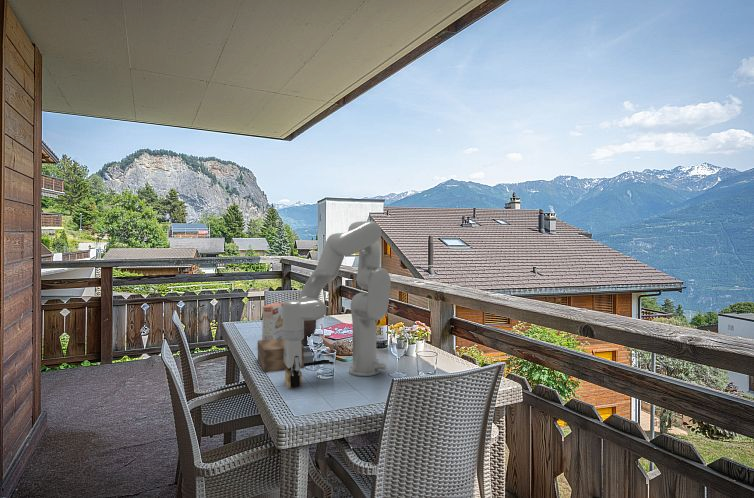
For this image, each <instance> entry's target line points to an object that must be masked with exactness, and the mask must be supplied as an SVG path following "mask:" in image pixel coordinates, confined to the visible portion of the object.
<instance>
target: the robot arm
mask: <svg viewBox="0 0 754 498" xmlns="http://www.w3.org/2000/svg"><path fill="white" fill-rule="evenodd" d="M381 235H382V228H381V226H380V225H379V224H378V222H376V221H372V220H365V221H363V220H362V221H354V222H353V223H351V224H349V226H348V228H347V231H346V232H337V233H333V234H330V235H329V236H328V237H327V240H326V241H325V244H324V247H323V249H322V252H321V254H320V257H319V259H318V262H317V265H316V267H315V269H314V271H313V272H312V273H311V275H310V276H309V278H308V279H307V280H306V281H305V283H304V285H303V286H302V289H301V292H300V294H299V297H298V299H289V300H288V299H287V300H285V301H284V302H282V303H283V340H284V358H283V361H284V363H285V365H286V366H287V370H291V375H292V376H291V387H292V388H297V387H298V386H300V371H301V370H300V369H301V368H299V367H301V366H302V345H301V340H302V339H303V338H304V320H316V321H317V320H320V319H323V318H324V317H325V316H326V314H327V305H326V304H325V303H324V302H323V301H322V300H320V299H319V297H320V294H321V292H322V291H323V289H324V288H325V287H326V286H327V285H328V284H330V283H331V282H333V281H334V280H335V279H336V278H337V277H338V275H339V272H340V270H341V266H342V263H343V260H344V258H345V256H346V257H349V256H352V255H354V254H357V253H358V263H357V270H356V271H357V273H356V274H357V275H356V283H357V285H358V287H359V288H361V289H363V290H367V292H359V293H356V294H355V295H353V297H352V298H351V301H350V315H351V321H352V366H350V367H349V368H348V373H349V374H350V375H353V376H357V377H371V376H375V375H378V374H379V373H380V372H381V370H383V371H386V370H387V368H388V367H387V364H386V363H383V362H379V359H377V323H376V322H377V321H380V320H382V319H383V318H384V317H385V316H386V314H387V312H388V311H389V310H388V309H389V301H390V296H391V295H390V294H391V285H392V282H391V275H390V273H389V271H388V270H387V269H385V268H384V267H381V266H380V264H381V250H380V245H379V244H378V241H379V240H380V238H381ZM293 369H295V370H294V371H293ZM299 370H300V371H299ZM300 387H301V386H300ZM298 388H299V387H298Z"/></svg>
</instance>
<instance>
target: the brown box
mask: <svg viewBox="0 0 754 498" xmlns="http://www.w3.org/2000/svg"><path fill="white" fill-rule="evenodd" d="M301 345H302V344H301ZM304 347H305V346H303V345H302V366H301V367H299V368H300V369H304V368H305V363H304ZM283 358H284V340H283V338H280V339H269V340H262V339H261V340H257V362H258V364H259V366H260V367H261V369H262V371H263V373H270V372H279V371H285V370H287V366H286V365H285V363H284V361H283Z"/></svg>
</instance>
